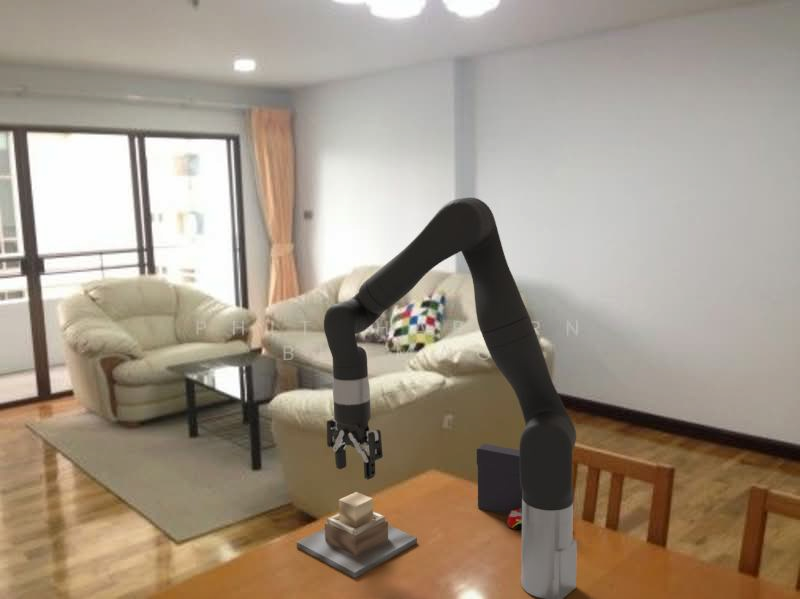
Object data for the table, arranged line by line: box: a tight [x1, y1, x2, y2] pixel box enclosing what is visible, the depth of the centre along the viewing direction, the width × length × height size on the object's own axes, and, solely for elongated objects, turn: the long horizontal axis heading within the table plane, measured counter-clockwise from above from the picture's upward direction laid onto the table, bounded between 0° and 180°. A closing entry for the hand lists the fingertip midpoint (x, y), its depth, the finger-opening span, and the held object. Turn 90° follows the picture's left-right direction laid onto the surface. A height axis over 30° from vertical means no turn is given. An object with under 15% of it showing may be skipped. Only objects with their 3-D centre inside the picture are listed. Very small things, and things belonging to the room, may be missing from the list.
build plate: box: [296, 511, 418, 579], centre depth 147 cm, size 18×18×6 cm
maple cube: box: [338, 491, 374, 529], centre depth 146 cm, size 5×5×5 cm
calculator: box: [476, 443, 522, 516], centre depth 160 cm, size 11×4×15 cm, turn 59°
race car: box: [507, 508, 522, 532], centre depth 153 cm, size 13×5×4 cm, turn 76°
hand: (355, 472), depth 145 cm, fingers open, 8 cm apart
